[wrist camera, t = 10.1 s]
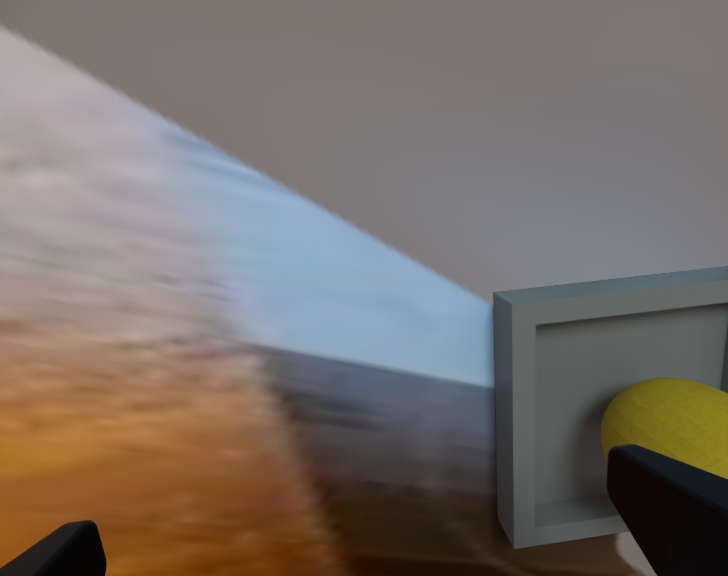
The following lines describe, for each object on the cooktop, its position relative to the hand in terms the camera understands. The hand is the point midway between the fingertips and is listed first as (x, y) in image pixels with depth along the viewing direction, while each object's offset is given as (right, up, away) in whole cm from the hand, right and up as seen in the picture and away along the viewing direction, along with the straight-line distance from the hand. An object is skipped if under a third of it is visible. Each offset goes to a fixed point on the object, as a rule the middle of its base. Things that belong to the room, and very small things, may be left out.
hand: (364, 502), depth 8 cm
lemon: (+12, -2, +14) cm, 18 cm away
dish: (+12, -2, +14) cm, 19 cm away
